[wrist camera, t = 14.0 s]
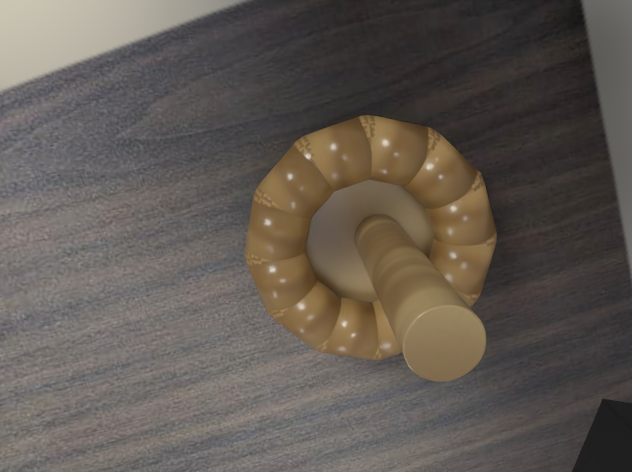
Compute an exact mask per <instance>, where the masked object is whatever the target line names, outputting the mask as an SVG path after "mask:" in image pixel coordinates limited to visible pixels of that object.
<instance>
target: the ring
mask: <svg viewBox="0 0 632 472" xmlns="http://www.w3.org/2000/svg"><path fill="white" fill-rule="evenodd" d="M366 180H373V181H378V182H384V183H389V184H394V185H399V186H403V187H404V188H405V189H406V190H407V191H408V192H409V193H410V194H412V195H413V196H414V197H415V198H416V199H417V200H418V201H419V202H420V203H422V204H423V205H424V206H425V207H426V210H427V213H428V217H429V220H430V224H431V227H432V231H433V234H434V240H433V243H432V247H431V251H430V255H429V258H428V259H429V260H430V261H431V262H432V263H433V264H434V266H435V267H436V268H437V269H438V270H439V272H440V273H441V274H442V275H443V276H444V277H445V279H446V280H447V281H448V282H449V283H450V284H451V286H452V287H453V288H454V289H455V290H456V292H457V293H458V294H459V295H460V296H461V297H462V299H463V300H464V301H465V302H466V303H467V305H468V306H469V307H471V306H472V305H473V304H474V303H475V302H476V301H477V299H478V298H479V296H480V294H481V292H482V288H483V285H484V282H485V279H486V275H487V272H488V269H489V265H490V262H491V259H492V255H493V252H494V249H495V246H496V241H497V232H496V228H495V224H494V219H493V215H492V211H491V207H490V203H489V199H488V195H487V191H486V187H485V183H484V180H483V178H482V176H481V174H480V172H479V171H478V170H477V169H476V168H475V167H474V166H473V165H472V164H471V163H470V162H469V161H468V160H467V159H466V158H465V157H464V156H463V155H462V154H461V153H459V152H458V151H457V150H456V149H455V148H454V147H453V146H452V145H451V144H450V143H449V142H448V141H447V140H446V139H445V138H444V137H443V136H442V135H441V134H439V133H438V132H437V131H435V130H434V129H432V128H430V127H426V126H422V125H417V124H412V123H408V122H403V121H398V120H393V119H388V118H383V117H378V116H372V115H363V116H359V117H355V118H352V119H350V120H347V121H344V122H341V123H338V124H335V125H332V126H330V127H327V128H324V129H321V130H318V131H315V132H313V133H310V134H307V135H305V136H303V137H301V138H299V139H298V140H297V141H296V142H295V143H294V144H293V145H292V146H291V147H290V148H289V150H288V151H287V152H286V153H285V154H284V156H283V157H282V158H281V159H280V160H279V161H278V163H277V164H276V165H275V166H274V167H273V168H272V170H271V171H270V172H269V173H268V174H267V176H266V177H265V178H264V179H263V180H262V181H261V183H260V184H259V185H258V187H257V188H256V190H255V192H254V196H253V201H252V207H251V213H250V219H249V225H248V231H247V237H246V243H245V260H246V263H247V265H248V268H249V270H250V273H251V275H252V278H253V280H254V283H255V285H256V287H257V290H258V292H259V295H260V297H261V300H262V302H263V305H264V307H265V309H266V311H267V313H268V314H269V315H270V316H271V317H272V318H273V319H274V320H275V321H277V322H278V323H279V324H281V325H282V326H283V327H285V328H286V329H287V330H289V331H290V332H291V333H292V334H294V335H295V336H296V337H298V338H299V339H300V340H302V341H303V342H304V343H306V344H307V345H308V346H309V347H311V348H312V349H314V350H316V351H318V352H322V353H327V354H334V355H340V356H347V357H353V358H360V359H366V360H382V359H385V358H388V357H391V356H394V355H397V354H400V353H402V352H401V349H400V347H399V345H398V342H397V340H396V338H395V335H394V333H393V331H392V328H391V326H390V324H389V322H388V319H387V317H386V315H385V312H384V310H383V308H382V305H381V303H380V301H379V300H377V301H374V302H366V301H360V300H354V299H348V298H342V297H339V296H338V295H336V294H335V293H334V292H333V291H331V290H330V289H329V288H328V287H327V286H325V285H324V284H323V283H322V282H320V281H319V280H318V279H317V278H316V277H315V274H314V272H313V269H312V266H311V263H310V261H309V258H308V255H307V253H306V250H305V249H306V244H307V239H308V234H309V229H310V224H311V218H312V217H313V216H314V214H315V213H316V212H317V211H318V210H319V209H320V208H321V206H322V205H323V204H324V203H325V202H326V201H327V200H328V199H329V197H330V196H331V195H332V194H333V193H334V192H335V191H337V190H340V189H343V188H346V187H349V186H352V185H355V184H358V183H361V182H363V181H366Z"/></svg>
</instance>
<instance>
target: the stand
mask: <svg viewBox="0 0 632 472" xmlns="http://www.w3.org/2000/svg"><path fill="white" fill-rule="evenodd" d="M479 172H480V171H479ZM480 174H481V172H480ZM433 240H434V234H433V231H432V227H431V224H430V220H429V217H428V213H427V210H426V207H425V206H424V205H423V204H422V203H420V202H419V201H418V200H417V199H416V198H415V197H414V196H413V195H412V194H410V193H409V192H408V191H407V190H406V189H405V188H404V187H403V186H399V185H394V184H389V183H384V182H378V181H373V180H366V181H363V182H361V183H358V184H355V185H352V186H349V187H346V188H343V189H340V190H337V191H335V192H334V193H333V194H332V195H331V196H330V197H329V199H328V200H327V201H326V202H325V203H324V204H323V205H322V206H321V208H320V209H319V210H318V211H317V212H316V213H315V214H314V216H313V217H312V218H311V224H310V229H309V234H308V239H307V244H306V249H305V250H306V253H307V255H308V258H309V261H310V263H311V266H312V269H313V272H314V274H315V277H316V278H317V279H318V280H319V281H320V282H322V283H323V284H324V285H325V286H327V287H328V288H329V289H330V290H331V291H333V292H334V293H335V294H336V295H338V296H339V297H342V298H348V299H354V300H360V301H366V302H374V301H377V300H379V301H380V303H381V305H382V308H383V310H384V312H385V315H386V317H387V319H388V322H389V324H390V326H391V328H392V331H393V333H394V335H395V338H396V340H397V342H398V345H399V347H400V349H401V352H402V354H403V356H404V358H405V361H406V363H407V364H408V366H409V367H410V368H411V370H412V371H414V372H415V373H416V374H417V375H419V376H421V377H423V378H425V379H428V380H431V381H438V382H444V381H451V380H455V379H457V378H460V377H462V376H464V375H466V374H467V373H469V372H470V371H471V370H472V369H474V367H475V366H476V365H477V364H478V363H479V361H480V360H481V358H482V356H483V354H484V351H485V348H486V331H485V328H484V326H483V324H482V322H481V320H480V319H479V318H478V316H477V315H476V314H475V313H474V312H473V310H472V309H471V308H470V307H469V306H468V305H467V303H466V302H465V301H464V300H463V299H462V297H461V296H460V295H459V294H458V293H457V292H456V290H455V289H454V288H453V287H452V286H451V284H450V283H449V282H448V281H447V280H446V279H445V277H444V276H443V275H442V274H441V273H440V272H439V270H438V269H437V268H436V267H435V266H434V264H433V263H432V262H431V261H430V260H429V259H428V258H429V255H430V251H431V247H432V243H433Z"/></svg>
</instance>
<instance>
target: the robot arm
mask: <svg viewBox="0 0 632 472" xmlns="http://www.w3.org/2000/svg"><path fill="white" fill-rule="evenodd" d="M572 472H632V404H631V403H625V402H619V401H613V400H607V399H603V400H602V402H601V404H600V407H599V409H598V411H597V414H596V416H595V419H594V421H593V423H592V426H591V428H590V430H589V433H588V435H587V438H586V440H585V442H584V445H583V447H582V449H581V452H580V454H579V456H578V459H577V461H576V464H575V466H574V468H573V471H572Z"/></svg>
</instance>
